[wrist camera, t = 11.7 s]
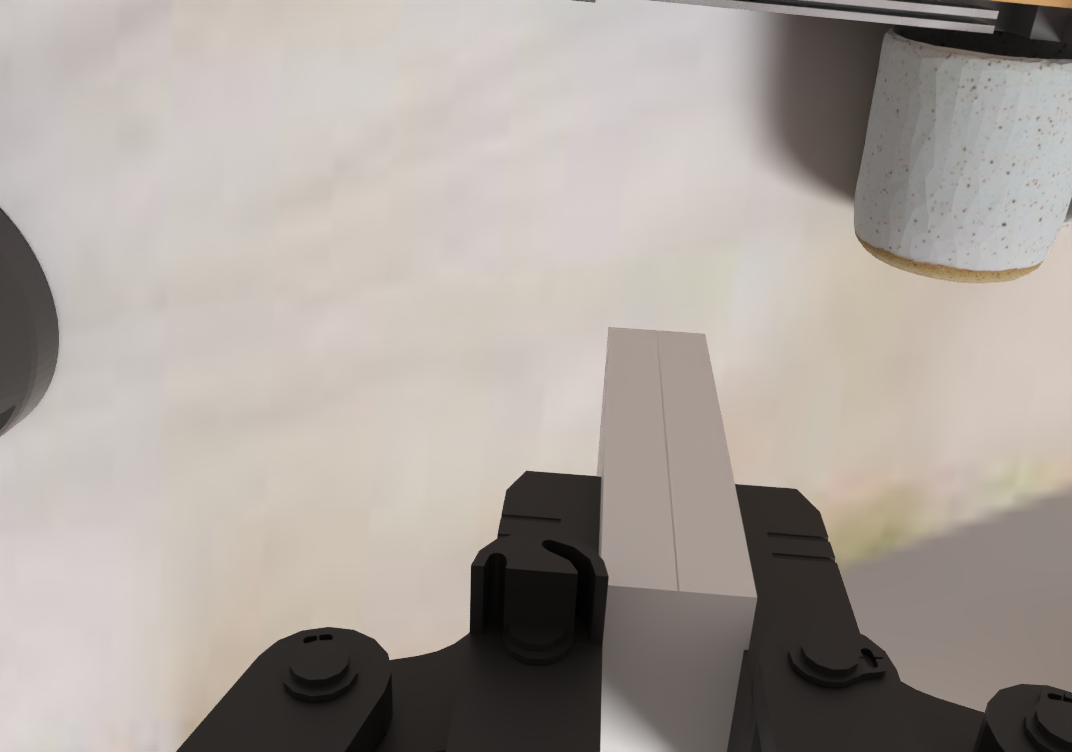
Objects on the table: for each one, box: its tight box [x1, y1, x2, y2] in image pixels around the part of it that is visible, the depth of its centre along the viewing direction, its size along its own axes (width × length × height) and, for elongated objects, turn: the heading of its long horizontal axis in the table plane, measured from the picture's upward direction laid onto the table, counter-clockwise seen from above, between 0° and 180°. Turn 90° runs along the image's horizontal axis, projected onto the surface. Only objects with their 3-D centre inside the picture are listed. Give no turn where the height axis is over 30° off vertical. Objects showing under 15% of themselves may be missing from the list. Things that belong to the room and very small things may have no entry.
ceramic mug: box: [854, 25, 1072, 283], centre depth 36 cm, size 11×8×8 cm
